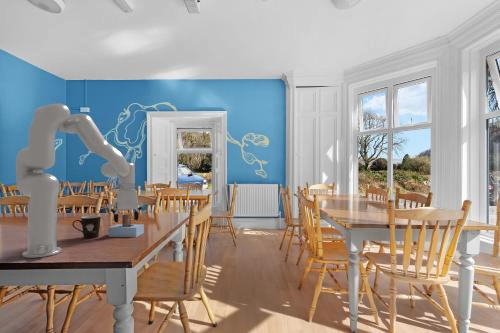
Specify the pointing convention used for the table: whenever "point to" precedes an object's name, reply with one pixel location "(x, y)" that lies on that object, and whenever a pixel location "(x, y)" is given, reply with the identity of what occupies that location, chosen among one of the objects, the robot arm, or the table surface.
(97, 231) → the coffee mug
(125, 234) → the socket board
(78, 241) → the table surface
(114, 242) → the table surface
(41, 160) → the robot arm
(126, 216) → the peg
